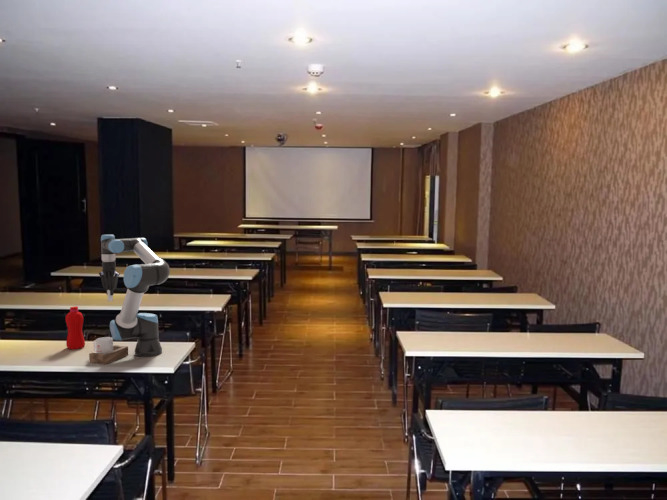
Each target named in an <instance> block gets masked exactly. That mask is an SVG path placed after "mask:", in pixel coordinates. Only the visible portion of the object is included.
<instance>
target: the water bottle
mask: <svg viewBox="0 0 667 500" xmlns="http://www.w3.org/2000/svg"><path fill="white" fill-rule="evenodd" d="M65 323H66V328H67V336H66V344H65V345H66V347H67V349H69V350H73V351H74V350H77V349H83V348H85V345H86V340H85V338H84V337H85V336H84V333H83V325H84V316H83V313H82V312H80V311H79V307H78V306H71V307H69V312H67V314H66V315H65Z"/></svg>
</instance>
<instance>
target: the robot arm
mask: <svg viewBox="0 0 667 500" xmlns="http://www.w3.org/2000/svg"><path fill="white" fill-rule="evenodd" d="M115 237H116V236H115V235H114V234H102V235H101V237H100V243H101V244H100V248H101V249H100V250H101V261H102V262H101V268H102V271H100V272H98V275H99V277H100V279H101V284H102V288H103V289H104V290H105V291H106V296H107V301H108V302H113V300H114V295H115V294H114V293H115V292H114V290H115V289H117V287H118V282H119V281H118V280H119V276H120V275H121V273H119V272H117V269H116V267H117V266H116V265H117V264H116V254H120V253H123V252H124V253H125V252H134V254H135V255H136V256H137V257H138V258H139V259H140V260H141V261H142V262H143V263H141V264H136V263H135V264H132V265H131V264H130V265H128V266H127V267H126V268H125V269H124V271H123V283H124V286H125V287H126V288H127V290H126V293H125V297H124V300H123V304H122V306H121V310H120V313H118V314H117V315H116V317H115V319H112V320H111V321H110V322H109V331H110V333H111V337H112V338H113V341H125V340H130V339H135V338H137V341H136V345H135V349H134V355H135V356H137V357H146V358H147V357H153V356H154V355H155V356H157V355H161V354H162V353H163V347H162V345H161V342H160V338H159V320H158V319H159V318H158V315H157V314H154V313H149V312H148V313H147V312H139V311H140V310H139V309H140V305H141V303H142V300H143V296H144V294H145V293H146V292H147V291H148V290H149V288H150V286H157V285H161V284H163V283H165V282H166V281H167V280H168V278H169V276H170V274H171V269H170V265H169V263H168V262H167V261H166V260H164V259H162V258H160V257H159V256H158V254H156V253H155V252H154V251H153V250H151V248H150V247H149V245H148V241H147V238H145V237H131V238H115ZM138 312H139V313H138ZM160 353H161V354H160Z"/></svg>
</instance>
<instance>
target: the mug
mask: <svg viewBox="0 0 667 500" xmlns="http://www.w3.org/2000/svg"><path fill="white" fill-rule="evenodd" d="M113 345H114V339H113V337H112V336H111V337H110V336H104V337H98V338H96V339H95V340H93V350H94V351H95V352H94V353H100V354H107V353H109V352H112V351H113Z"/></svg>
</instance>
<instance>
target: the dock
mask: <svg viewBox="0 0 667 500" xmlns="http://www.w3.org/2000/svg"><path fill="white" fill-rule="evenodd" d="M126 356H129V346H127V345H118V344H113V351H112V352H109V353H107V354H100V353H96V352H89V354H88V357H89V358H88V359H89V363H90V364H98V365H99V364H100V365H108V364H110V363H113V362H115V361H117V360H120V359H123V358H124V357H126Z"/></svg>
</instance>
